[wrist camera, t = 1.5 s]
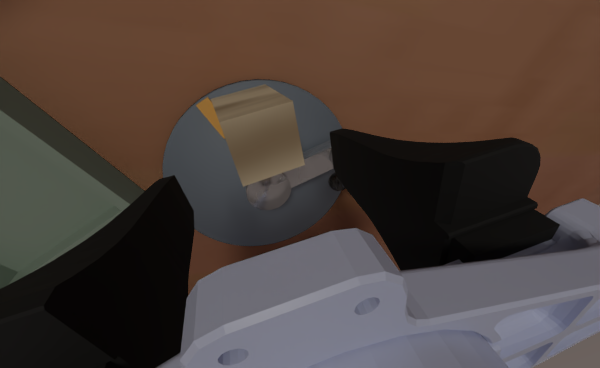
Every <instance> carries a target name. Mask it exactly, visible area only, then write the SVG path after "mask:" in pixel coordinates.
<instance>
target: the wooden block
mask: <svg viewBox="0 0 600 368" xmlns="http://www.w3.org/2000/svg"><path fill="white" fill-rule="evenodd" d="M211 101H212V104H213V107H214V109H215V112H216V115H217V117H218V120H219V123H220V126H221V128H222V131H223V134H224V136H225V139H226V142H227V145H228V147H229V150H230V153H231V155H232V158H233V161H234V164H235V166H236V169H237V172H238V174H239V177H240V180H241V183H242V185H243V187H244V186H247V185H250V184H252V183H255V182H258V181H261V180H264V179H267V178H269V177H272V176H275V175H278V174H281V173H284V172H286V171H289V170H292V169H295V168H298V167H301V166H303V165H305V163H304V157H303V152H302V147H301V142H300V136H299V131H298V126H297V121H296V115H295V110H294V105H293V101H292V100H290V99H289V98H287V97H285V96H284V95H282V94H280V93H279V92H277V91H276V90H274V89H272V88H271V87H269V86H267V85H266V84H264V85H260V86H257V87H253V88H249V89H246V90H242V91H238V92H234V93H231V94H227V95H223V96H220V97H216V98H212V99H211Z"/></svg>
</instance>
